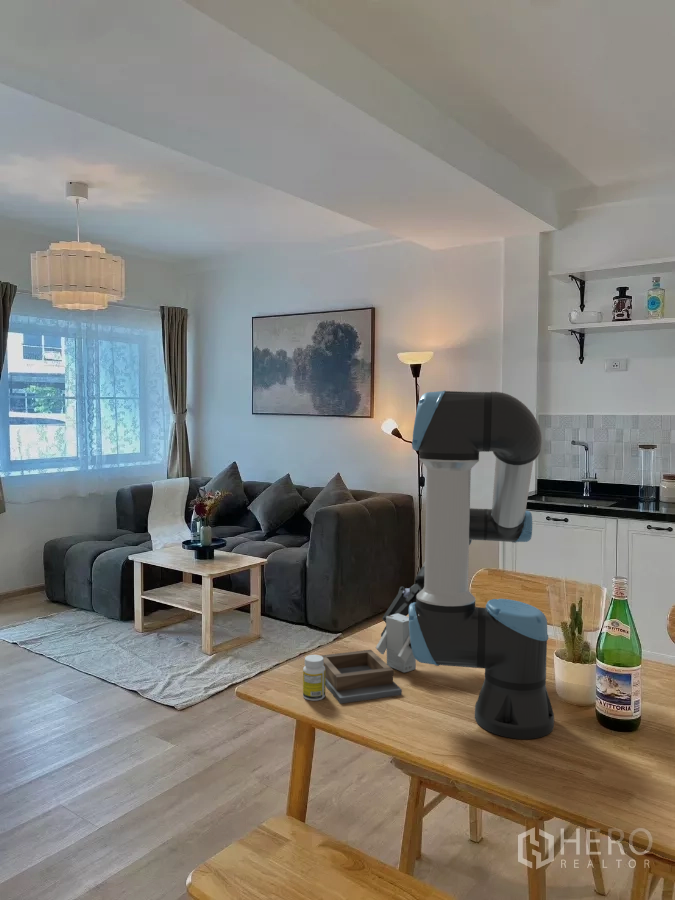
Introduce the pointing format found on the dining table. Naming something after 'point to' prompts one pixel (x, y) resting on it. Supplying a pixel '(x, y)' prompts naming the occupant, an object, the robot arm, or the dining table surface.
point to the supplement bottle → (314, 678)
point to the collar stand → (358, 676)
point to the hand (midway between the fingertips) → (390, 655)
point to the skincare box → (398, 642)
